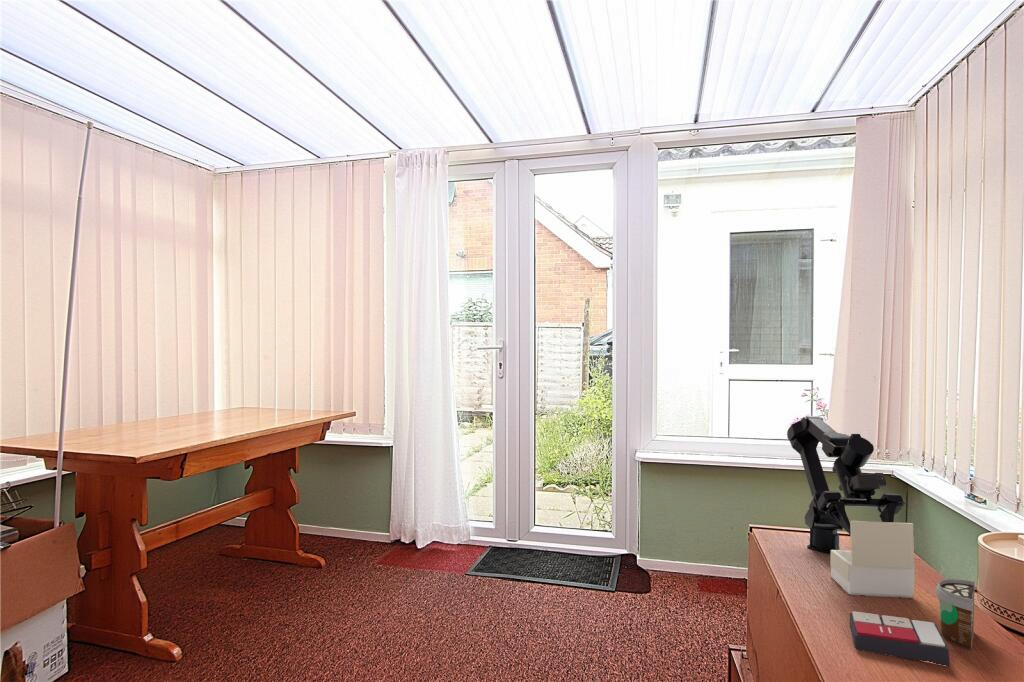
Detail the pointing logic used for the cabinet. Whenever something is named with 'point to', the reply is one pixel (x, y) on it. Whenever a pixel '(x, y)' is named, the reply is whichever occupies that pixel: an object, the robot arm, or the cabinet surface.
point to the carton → (871, 578)
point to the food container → (957, 610)
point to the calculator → (899, 637)
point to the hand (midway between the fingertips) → (871, 534)
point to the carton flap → (882, 544)
